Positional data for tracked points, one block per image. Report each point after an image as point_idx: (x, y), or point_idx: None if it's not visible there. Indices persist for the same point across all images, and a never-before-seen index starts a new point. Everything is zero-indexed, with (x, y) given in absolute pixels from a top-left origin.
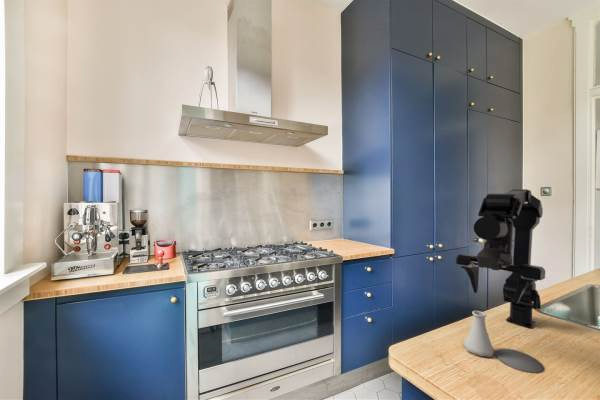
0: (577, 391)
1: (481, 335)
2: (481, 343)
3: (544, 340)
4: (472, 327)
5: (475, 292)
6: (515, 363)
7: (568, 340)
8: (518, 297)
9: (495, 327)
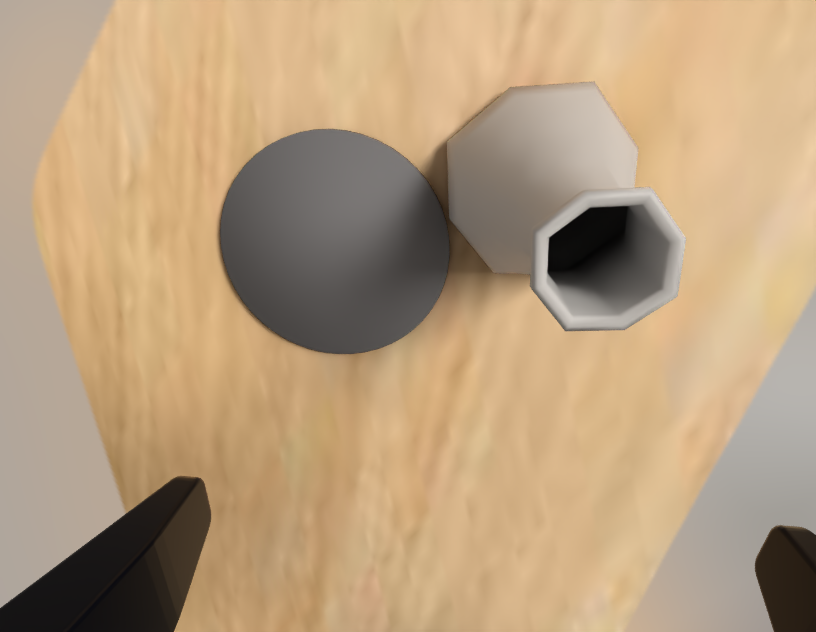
0: (66, 158)
1: (528, 156)
2: (515, 129)
3: (307, 564)
4: (617, 180)
5: (783, 528)
6: (329, 186)
7: (241, 626)
8: (85, 551)
9: (516, 549)
